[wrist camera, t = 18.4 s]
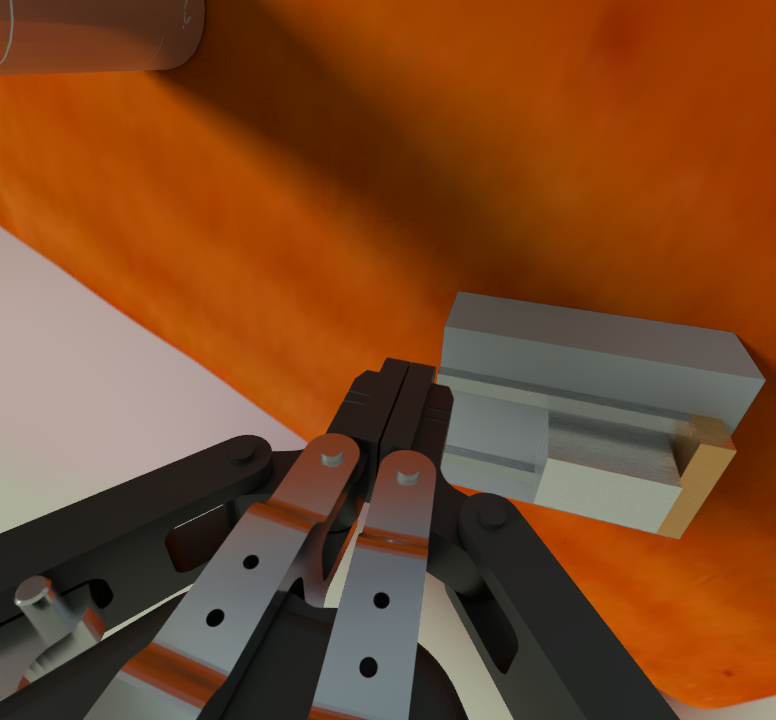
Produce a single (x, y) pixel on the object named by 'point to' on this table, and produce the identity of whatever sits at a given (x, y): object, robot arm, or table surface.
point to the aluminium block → (605, 471)
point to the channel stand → (587, 391)
